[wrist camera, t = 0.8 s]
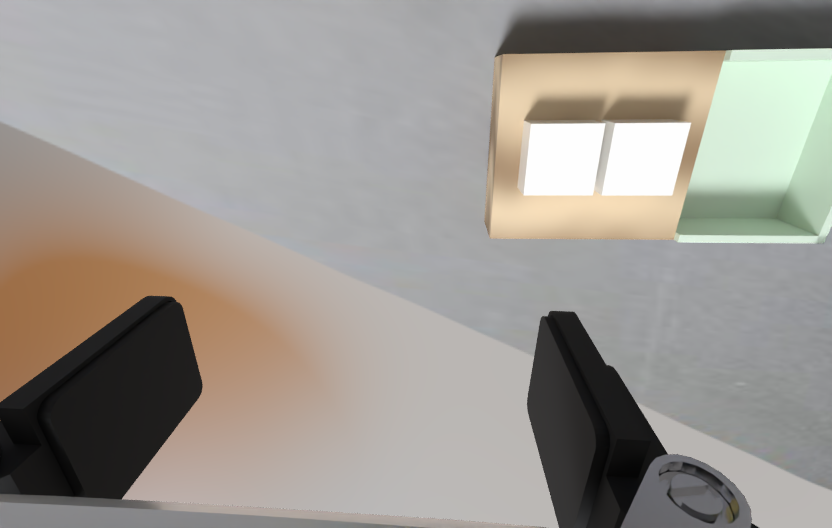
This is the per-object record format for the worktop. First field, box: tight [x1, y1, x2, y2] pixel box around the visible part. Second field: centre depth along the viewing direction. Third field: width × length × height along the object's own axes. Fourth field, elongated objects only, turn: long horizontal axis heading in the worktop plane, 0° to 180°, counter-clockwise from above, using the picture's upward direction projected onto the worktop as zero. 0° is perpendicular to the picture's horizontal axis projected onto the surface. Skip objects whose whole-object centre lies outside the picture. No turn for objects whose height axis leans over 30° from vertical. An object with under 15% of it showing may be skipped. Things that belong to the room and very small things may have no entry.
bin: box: [674, 48, 832, 243], centre depth 25 cm, size 11×9×4 cm
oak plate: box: [484, 51, 726, 240], centre depth 26 cm, size 11×12×4 cm
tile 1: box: [517, 120, 606, 196], centre depth 24 cm, size 4×4×2 cm
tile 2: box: [594, 119, 691, 196], centre depth 23 cm, size 4×4×2 cm
